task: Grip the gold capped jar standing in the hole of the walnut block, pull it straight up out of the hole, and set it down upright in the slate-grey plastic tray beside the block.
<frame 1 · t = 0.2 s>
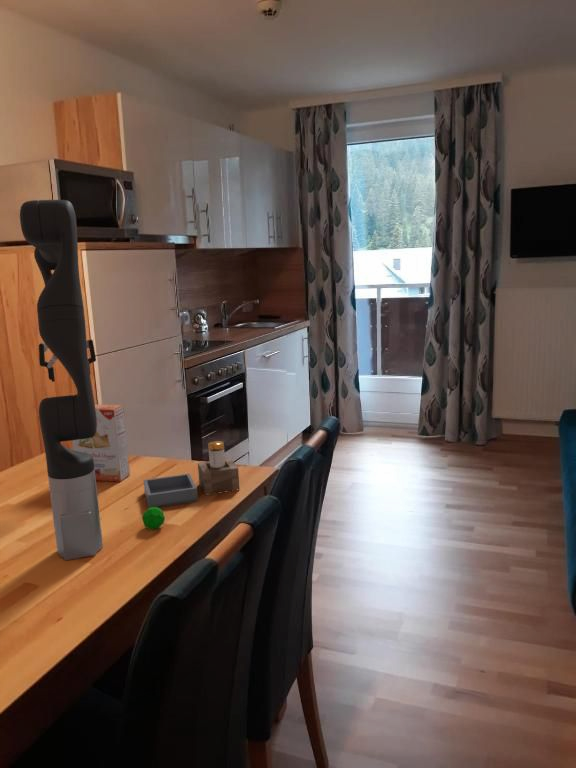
hand: (70, 379, 173), 29 cm above the table, tool pointing down, fingers open, 8 cm apart
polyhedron: (154, 528, 146), on the table
walnut pin block: (219, 486, 170), on the table
cracker box: (103, 478, 182), on the table
gold capped jar: (219, 487, 170), resting in walnut pin block
slate tray: (170, 496, 164), on the table
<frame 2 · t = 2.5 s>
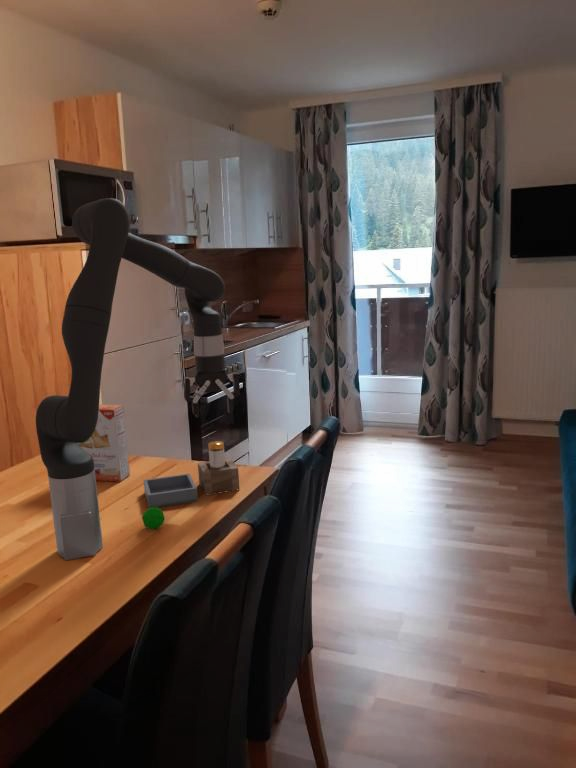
hand: (213, 414, 166), 20 cm above the table, tool pointing down, fingers open, 8 cm apart
nothing on the table moved.
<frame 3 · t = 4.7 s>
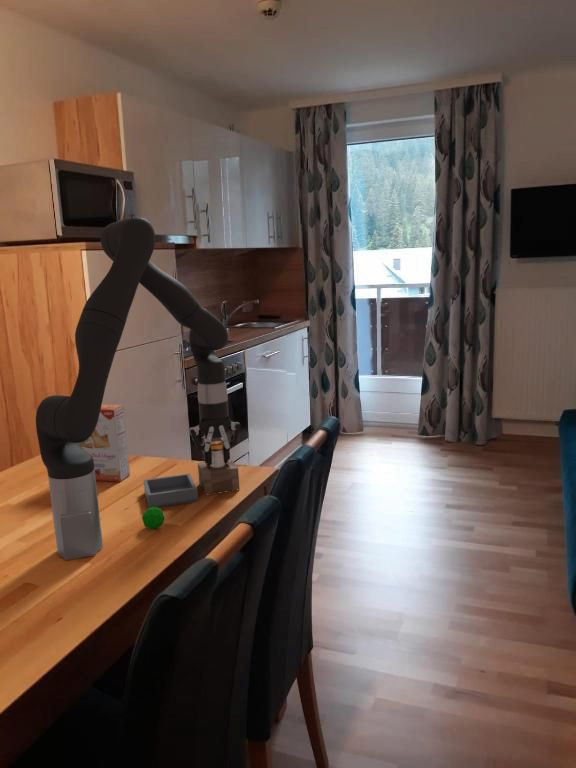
hand: (217, 462, 169), 7 cm above the table, tool pointing down, fingers closed on gold capped jar, 4 cm apart
gold capped jar: (219, 486, 170), resting in walnut pin block, touching gripper
everything else where it was.
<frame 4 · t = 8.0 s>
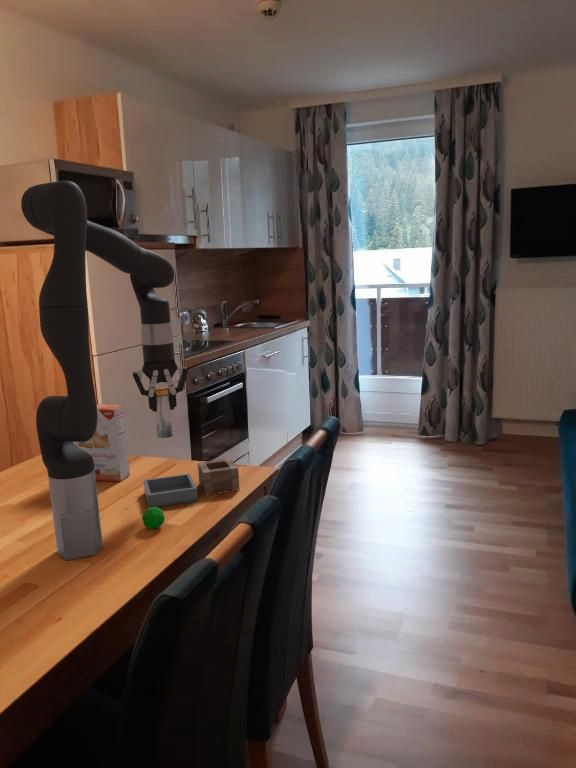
hand: (163, 409, 160), 23 cm above the table, tool pointing down, fingers closed on gold capped jar, 4 cm apart
gold capped jar: (165, 435, 161), point 16 cm above the table, touching gripper
everything else where it was.
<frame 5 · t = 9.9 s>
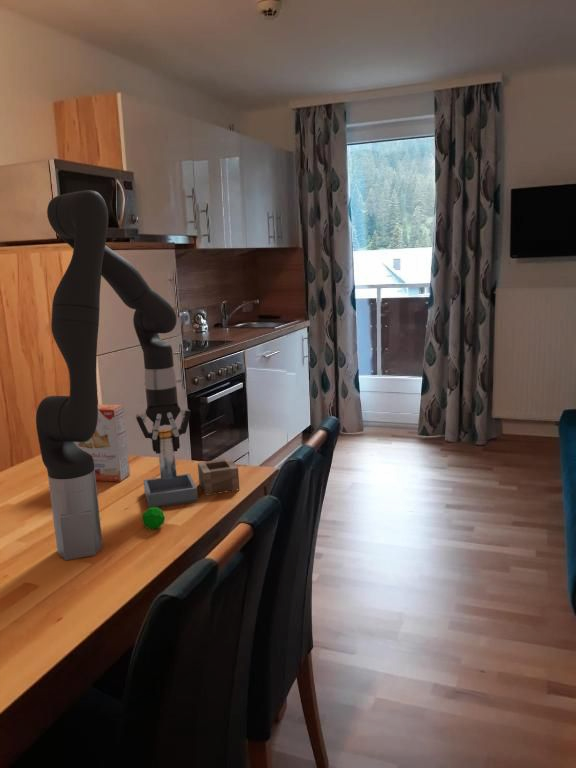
hand: (166, 451, 162), 12 cm above the table, tool pointing down, fingers closed on gold capped jar, 4 cm apart
gold capped jar: (168, 476, 164), point 5 cm above the table, touching gripper
everything else where it was.
when the fingers open (9 cm above the table, at t = 11.3 s): gold capped jar drops 2 cm, resting on slate tray.
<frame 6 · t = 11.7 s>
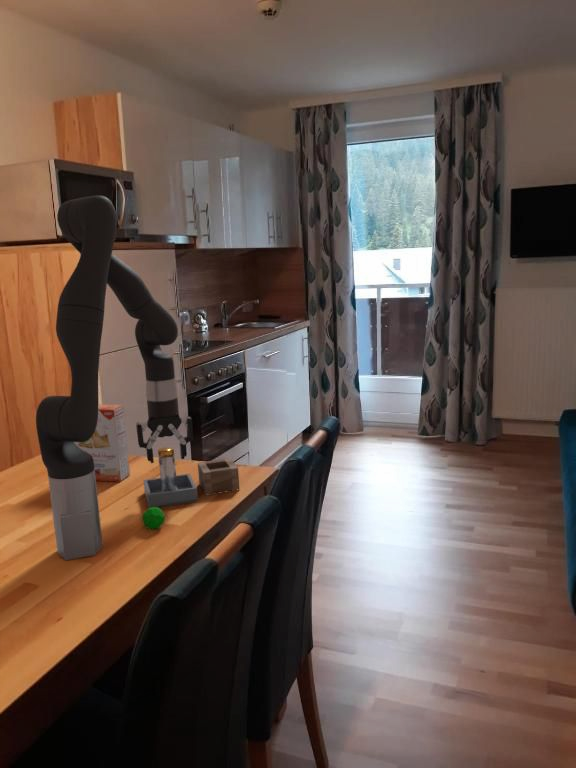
hand: (167, 460, 163), 10 cm above the table, tool pointing down, fingers open, 7 cm apart
gold capped jar: (170, 494, 164), point 1 cm above the table, touching slate tray
everything else where it was.
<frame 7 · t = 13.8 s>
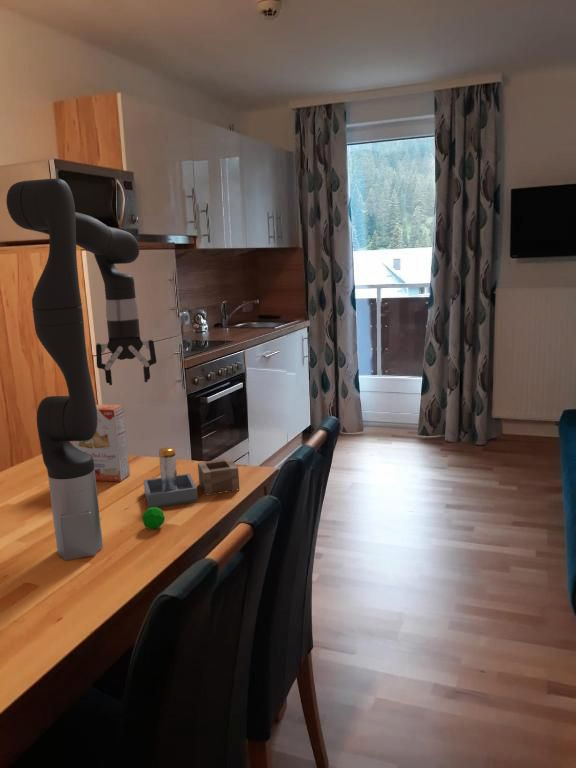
hand: (128, 383, 159), 30 cm above the table, tool pointing down, fingers open, 8 cm apart
nothing on the table moved.
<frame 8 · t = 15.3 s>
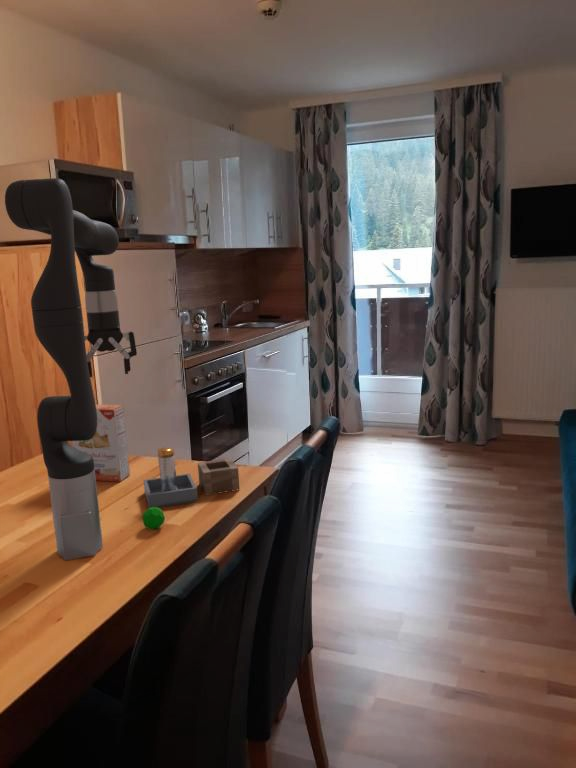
hand: (109, 375, 159), 32 cm above the table, tool pointing down, fingers open, 8 cm apart
nothing on the table moved.
at the end: gold capped jar inside the target area on the slate tray (0.1 cm from its centre), point 0.6 cm above the slate tray's base; the gripper is holding nothing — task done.
